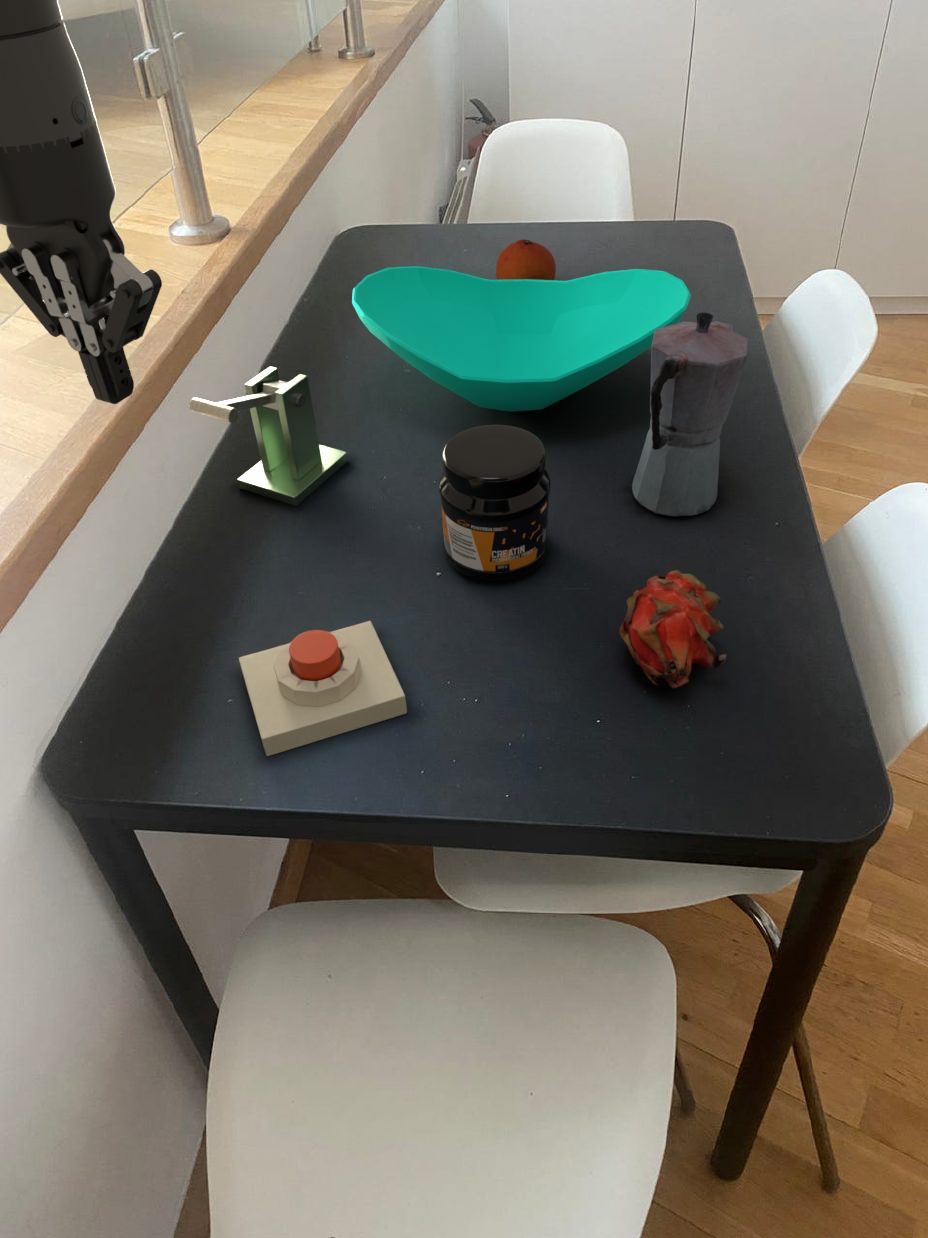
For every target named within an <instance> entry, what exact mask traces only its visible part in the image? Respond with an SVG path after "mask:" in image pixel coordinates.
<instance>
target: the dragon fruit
mask: <svg viewBox="0 0 928 1238" xmlns="http://www.w3.org/2000/svg"><path fill="white" fill-rule="evenodd" d="M721 602H722V599H721V598H720V596H719V595H718V594H717V593H716V592H715V591H710V590H707V584H706V583H705V582H704V581H702V580H699V579H698V577H697V576H695V575H694V574H692V573H683V572H682V571H681V570H680V569H674V570H671V571H669V572H667V574H666V575H665V576H664V575H654V576H651V577H649V578H648V579H647V580H646V586H645V587H643V588H642V589H640V590H637V589H635V590H634V592H633V595H631V596H629V597H628V598H627V599H626V605H627V610H626V614H625V617H624V619H623V622H622V623H621V625H620V626H619V635H620V637H621V639H622V640H623V641H624V643H625V645H626V646H627V649H628V651H629V653H630V654H631V657H632V658H633V661H634V662H635V663H634V664H636V665H637V666H640V667H641V668H642V672H643V674H644V675H646V677H647V678H648V679H649V680H650V681H651V683H652V684H653V685H654V686H657V687H660V684H659V679H663V680H665V681H666V682H667V685H668V686H669V687H670V688H672V689H677V688H679V687H681V686H683V685H686V684H688V683H690V681H691V680H690V679H689V676H690V674H691V671H692V664H696V665H699V666H701V667H702V668H703V669H706V670H707V669H716V668H719V667H721V666H722V665H723V664H724V662H726V659H727V653H721V654H720V655H716V651H717V650H716V647H715V646H714V645H713V644H712V643H711V642H710V641H709V640H708V639H709V637H710V636H712V635H714V634H716V633H718V632H720V631H723V630H724V625H723V624H722V623H721V622H720V620H719V619H718V618H716V617H713V616H712V615H710V613H711V612H712V611H713V610H714V609H715V608H716V607H718V605H719V604H720V603H721Z"/></svg>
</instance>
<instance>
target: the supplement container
mask: <svg viewBox="0 0 928 1238" xmlns="http://www.w3.org/2000/svg"><path fill="white" fill-rule="evenodd" d="M546 455H547V453H546V447H545V445H544V443H543V442H542V440H541V439H540V438H539V437H538V436H537V435H535V434H534V433H532V432H531V431H528V430H526V429H523V428H521V427H517V426H513V425H508V424H507V425H506V424H486V425H479V426H474V427H471V428H467V429H464V430H462V431H461V432H458V433H457V434H455V435H454V436H452V437H451V438H450V439H449V440H448V441H447V442H446V444H445V445H444V446H443V449H442V452H441V458H442V473H441V475H440V477H439V481H438V493H439V497H440V504H441V518H442V519H441V520H442V533H443V540H442V543H443V544H442V545H443V552H444V555H445V558H446V559H447V561H448V562H449V564H450V565H451V566H452V567H453V568H454V569H455V570H456V571H458V572H459V573H461V574H463V575H465V576H467V577H469V578H471V579H476V580H480V581H487V582H502V581H503V582H505V581H510V580H514V579H517V578H521V577H523V576H525V575H527V574H530V573H531V572H532V571H534V570H535V569H536V568H538V566H540V564H541V563H542V562H543V561H544V559H545V557H546V555H547V552H548V548H549V536H548V533H549V532H548V531H549V497H550V492H551V478H550V475H549V473H548V471H547V470H546Z"/></svg>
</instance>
